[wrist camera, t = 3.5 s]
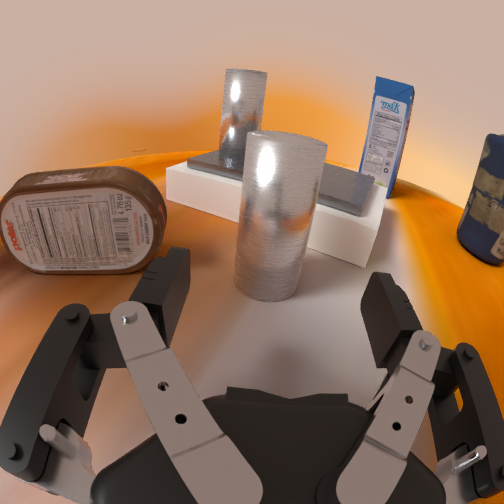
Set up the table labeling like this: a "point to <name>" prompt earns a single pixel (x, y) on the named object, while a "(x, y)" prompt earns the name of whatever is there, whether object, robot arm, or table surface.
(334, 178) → the dark grey flat panel
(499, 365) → the table surface
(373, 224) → the scale
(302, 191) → the cylinder
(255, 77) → the cylinder
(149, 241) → the tin
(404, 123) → the milk carton
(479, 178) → the canister
